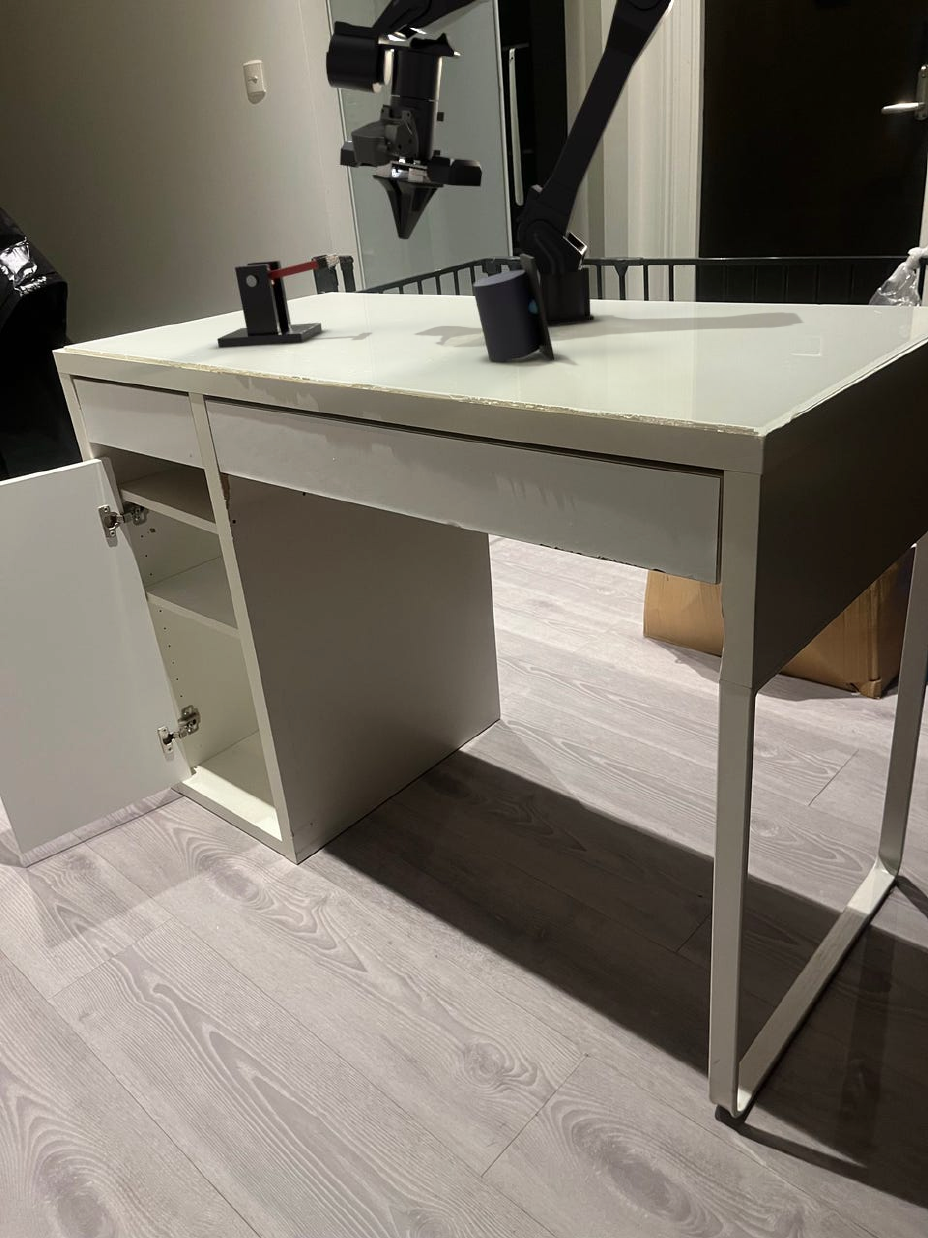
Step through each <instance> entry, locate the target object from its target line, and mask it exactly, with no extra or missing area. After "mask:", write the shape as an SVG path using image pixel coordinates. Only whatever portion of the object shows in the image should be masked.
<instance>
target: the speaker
mask: <svg viewBox="0 0 928 1238" xmlns="http://www.w3.org/2000/svg"><path fill="white" fill-rule="evenodd" d="M519 259H520V264H521V269H518V270H509V271H505V272H501V273H496V274H493V275H489V276H487V277H484V278H482V279H479V280H477V281H475V282H474V283H473V284H472V290H473V294H474V299H475V303H476V307H477V312H478V316H479V320H480V325H481V329H482V333H483V334H482V335H483V338H484V343H485V346H486V350H487V355H488V359H489V361H490V362H492V363H493V362H496V363H497V362H498V363H499V362H507V361H512V360H517V359H518V360H519V359H522V358H524V357H527V356H529V355H532V354H534V353H536V352H537V351H539V353H540V354H542V355H543V356H544V357H545V358H547V359H548V360H549V361H553V360H555V355H554V350H553V345H552V340H551V335H550V330H549V325H548V324H547V319H546V314H545V309H544V304H543V299H542V294H541V289H540V284H539V279H538V274H537V267H536V264H535V259H534V257H531V256H529V255H526V254H525V253H520V254H519Z"/></svg>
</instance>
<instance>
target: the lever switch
mask: <svg viewBox="0 0 928 1238" xmlns="http://www.w3.org/2000/svg"><path fill="white" fill-rule="evenodd" d="M269 266H270V268H271V271H274V270H278V269H282V265H281V260H268V261H267V260H266V261H257V262H256V261H255V262H248V263H246V265H240V266H239V265H237V266H235V267H234V271H235V277H236V280H237V281H236V282H237V287H238V291H239V296H240V297H239V298H240V301H241V307H242V313H243V318H244V323H245V327H240V328H238V329H236V330H234V331H232V332H229V333H227V334H225V335H222V336H220V337H218V338H217V339H216V340H217V345H218V348H219V349H221V348H236V347H252V346H270V345H285V344H301V343H304V342H306V341H308V340H309V339H311V338H313V337H314V336H316V335H319V334H320V333H322V332H323V328H322V323H321V322H311V323H310V322H309V323H296V324H292V323H291V316H290V310H289V306H288V299H287V293H286V287H285V281H284V277H280V278H276V279H274V281H275V284H274V285H272V280H271V274H270V269H269Z"/></svg>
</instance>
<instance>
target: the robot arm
mask: <svg viewBox="0 0 928 1238" xmlns="http://www.w3.org/2000/svg"><path fill="white" fill-rule="evenodd" d="M492 1H493V0H390V1H389V2H388V4H387V6H386V7H385V8H384V9H383V11H382V12H381V13H380V15H379V16H378V18H377V19H376V20H375V21H374V24H373V25H372V26H364V25H358V24H357V25H356V24H352V23H349V22H345V21H340V20H336V21H334V23H333V32H332V33H333V34H332V35H331V37H330V39H329V43H328V48H327V49H328V50H327V51H326V53H325V72H326V73H325V74H326V78H327V82H328V84H329V86H330V88H332V89H338V90H339V89H340V90H348V91H355V92H361V93H362V92H364V93H370V94H371V93H372V94H379V93H380V91H381V89H382V86H387V85H389V82H391V83H390V97H389V98H390V99H389V104H385V103H383V104H382V107H381V108H380V115H379V119H378V120H375V121H372V122H369V123H366V124H365V125H363V126H361V127H359V128H357V129H354V130H353V131H351V132H350V136H351V137H350V138H351V140H346V141H345V142H344V143H343V145H342V146H341V148H340V152H339V153H340V154H339V155H340V157H339V166H343V167H349V168H356V169H359V167H369V168H376V173H374V174H373V173H372V178H373V179H374V180H376V181H378V182H379V183H380V185H381V186H382V187H383V189H384V190H385V191H386V194H387V197H388V200H389V203H390V204H389V205H390V207H391V212H392V215H393V220H394V224H395V229H396V232H397V237H398V239H400V240H409V239H410V237H411V235H412V233H413V232H414V229H415V228H416V226H417V224H418V223H419V220H420V219H421V217H422V215H423V213H424V211H425V209H427V206H428V205H429V203H430V201H431V200H432V199H433V197H434V196H435V194H436V192H437V191H438V189H443V188H445V187H444V186H446V185H447V186H456V187H457V186H458V187H481V186H482V178H483V169H482V167H481V165H480V162H479V160H476V159H470V158H465V157H458V156H448V155H447V156H446V155H441V153H442V150H441V149H436V148H435V145H436V144H435V143H436V133H437V122H443V123H444V120H445V111H438V109H439V100H440V99H439V98H440V87H441V78H442V77H441V76H442V67H443V66H442V65H443V59H444V58H445V59H451V60H458V59H460V58H461V53H460V51H459V50H457V48H456V47H455V46H454V44H453V43H452V40H451V37H450V35H449V34H448V33H446V32H442V33H441V34H440V35H439V36H438V37H437V38H436V39H435V38H434V39H433V38H427V37H425V38H424V37H418V36H417V37H416V35H418V34H420V33H421V34H426V35H430V34H434V33H436V32H439V31H441V30H442V29H444V28H447V27H448V26H450V25H451V24H453V23H455V22H457V21H458V20H460V19H461V18H463V17H464V16H466V15H467V14H469V13H470V12H471V11H473V10H474V9H476V8H478V7H480V6H481V5H483V4H486V3H489V2H492ZM673 3H674V0H615V4H614V8H613V13H612V16H611V21H610V26H609V30H608V34H607V38H606V44H605V47H604V51H603V53H602V55H601V58H600V60H599V63H598V64H597V67H596V70H595V72H594V74H593V77H592V79H591V81H590V84H589V86H588V88H587V91H586V93H585V95H584V98H583V100H582V103H581V105H580V107H579V110H578V112H577V114H576V117H575V119H574V122H573V124H572V126H571V129H570V131H569V133H568V135H567V138H566V141H565V142H564V146H563V147H562V149H561V152H560V155H559V157H558V159H557V162H556V164H555V166H554V169H553V171H552V173H551V175H550V177H549V178H548V180H547V181H546V182H545V184H544V186H543V187H541V186H540V185H538V184H535V185H531V186H530V187H529V188H528V191H527V194H526V199H525V203H524V207H523V208H522V210H521V213H520V214H519V215H518V216H517V217H516V218H515V222H517V223H518V222H520V224H519V225H518V229H517V233H516V235H517V236H516V237H517V238H516V239H517V242H518V245H519V248H520V250H521V251H522V252H523V254H526V255H529V256H531V257H534V259H535V264H536V269H537V274H538V279H539V284H540V289H541V294H542V299H543V304H544V309H545V314H546V319H547V324H548V326H556V325H564V324H572V323H580V322H581V323H582V322H590V321H595V315H593V314H591V290H590V289H591V288H590V267H589V266H586V265H583V264H584V260H585V257H586V253H587V250H588V247H587V245H586V244H585V243H584V242H583V241H582V240H580V239H579V238H578V237H577V236H576V235H575V234H574V233H573V232H571V230H572V226H573V222H574V219H575V218H574V217H575V214H576V210H577V205H578V200H579V195H580V193H581V188H582V186H583V182H584V180H585V178H586V176H587V173H588V171H589V169H590V167H591V165H592V162H593V160H594V158H595V155H596V153H597V152H598V149H599V147H600V144H601V142H602V140H603V137H604V135H605V133H606V131H607V129H608V126H609V125H610V122H611V120H612V117H613V115H614V113H615V111H616V108H617V106H618V103H619V101H620V99H621V96H622V94H623V92H624V90H625V88H626V86H627V83H628V81H629V78H630V76H631V75H632V72H633V69H634V67H635V66H636V64H637V63H638V61H639V59H640V58H641V56H642V55H643V54H644V52H645V50H646V49H647V48H648V47H649V45H650V43H651V42H652V40H653V39H654V38H655V36H656V34H657V33H658V31H659V30H660V28H661V26H662V25H663V23H664V21H666V18H667V17H668V15H669V13H670V12H671V10H672V7H673ZM390 40H391V41H399V42H407V41H409V40H410V41H409V45H397V44H390ZM390 79H391V81H390ZM401 157H402V158H404V159H401Z"/></svg>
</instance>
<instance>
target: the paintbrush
mask: <svg viewBox="0 0 928 1238" xmlns="http://www.w3.org/2000/svg"><path fill="white" fill-rule="evenodd" d="M339 264H341V259H340V256H339V253H338V252H334V253H331V254H327V255H325V256H321V257H319V258H317V259H314V260H309V261H305V262H302V263H298V264H294V265H289V266H286V267H281V269H278V270H274V271H271V268H270V266H269V269H270V274H271V280H272V285H274V284H275V281H274V279H276V278H280V277H283V278H284V277H289V276H292V275H297V274H300V273H304V272H308V271H312V270H317V269H318V270H319V271H321V270H326V269H329V268H332V267H334V266H337V265H339Z"/></svg>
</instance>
